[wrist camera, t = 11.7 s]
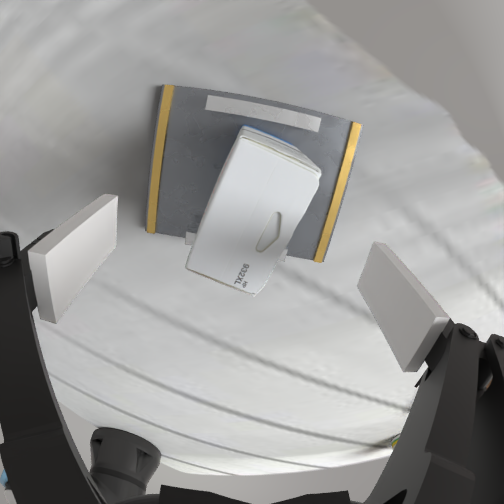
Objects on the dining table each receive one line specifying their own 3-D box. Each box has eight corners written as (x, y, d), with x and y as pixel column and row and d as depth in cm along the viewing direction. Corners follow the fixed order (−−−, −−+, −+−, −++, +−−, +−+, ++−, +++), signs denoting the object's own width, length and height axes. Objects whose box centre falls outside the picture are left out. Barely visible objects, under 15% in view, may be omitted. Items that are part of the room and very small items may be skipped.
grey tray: (147, 226, 30) (136, 241, 27) (165, 85, 24) (154, 82, 21) (321, 257, 32) (329, 274, 29) (359, 124, 26) (373, 127, 23)
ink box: (243, 121, 25) (238, 130, 14) (295, 144, 26) (327, 172, 15) (205, 207, 28) (180, 271, 18) (254, 227, 29) (258, 300, 19)
